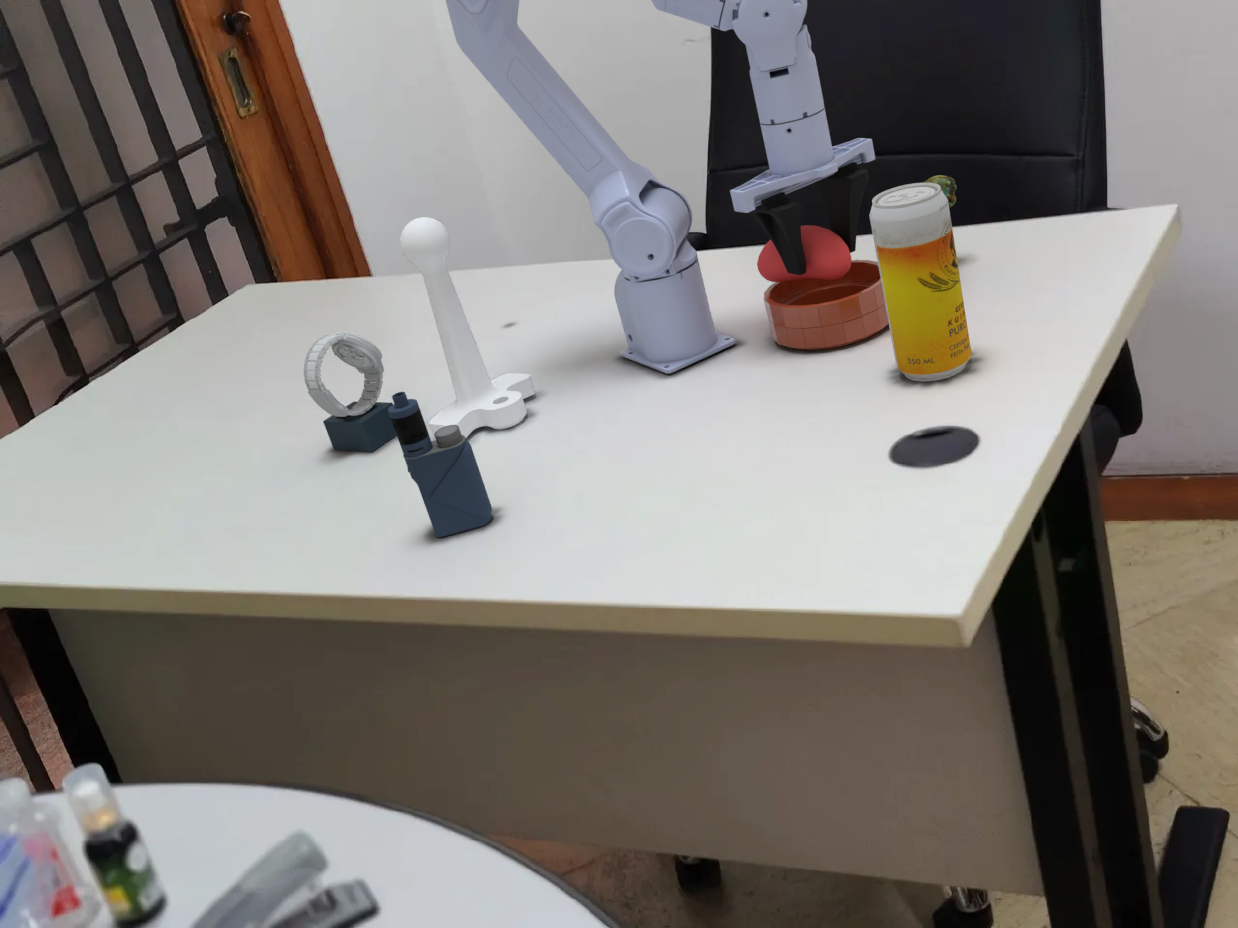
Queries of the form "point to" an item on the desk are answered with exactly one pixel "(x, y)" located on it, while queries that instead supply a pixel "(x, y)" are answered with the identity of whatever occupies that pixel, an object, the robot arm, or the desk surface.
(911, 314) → the beer can
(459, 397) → the joystick
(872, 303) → the bowl
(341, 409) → the watch
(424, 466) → the vaping device
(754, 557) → the desk surface
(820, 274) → the red kidney bean
